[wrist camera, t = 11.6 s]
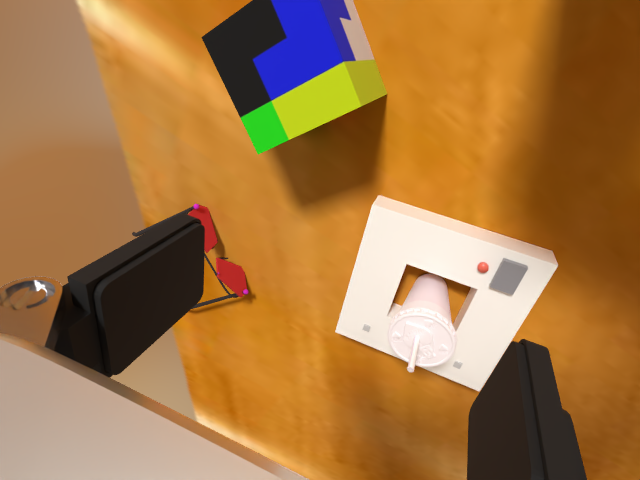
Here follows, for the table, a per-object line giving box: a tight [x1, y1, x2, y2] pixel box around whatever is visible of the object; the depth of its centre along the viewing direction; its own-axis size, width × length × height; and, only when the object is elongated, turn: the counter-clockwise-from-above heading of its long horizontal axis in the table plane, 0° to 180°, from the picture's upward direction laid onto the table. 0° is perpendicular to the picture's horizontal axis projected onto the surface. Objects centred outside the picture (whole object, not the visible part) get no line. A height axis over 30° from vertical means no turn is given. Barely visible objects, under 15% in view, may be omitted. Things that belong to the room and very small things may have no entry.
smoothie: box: [387, 274, 457, 372], centre depth 38 cm, size 6×6×14 cm
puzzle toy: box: [202, 0, 387, 154], centre depth 33 cm, size 10×10×10 cm
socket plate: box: [335, 195, 558, 392], centre depth 42 cm, size 18×18×4 cm
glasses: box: [132, 204, 248, 309], centre depth 53 cm, size 14×16×5 cm
